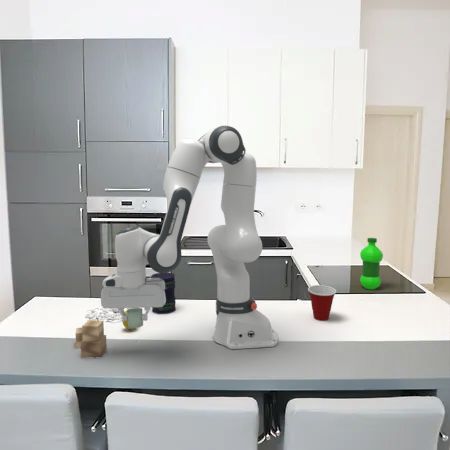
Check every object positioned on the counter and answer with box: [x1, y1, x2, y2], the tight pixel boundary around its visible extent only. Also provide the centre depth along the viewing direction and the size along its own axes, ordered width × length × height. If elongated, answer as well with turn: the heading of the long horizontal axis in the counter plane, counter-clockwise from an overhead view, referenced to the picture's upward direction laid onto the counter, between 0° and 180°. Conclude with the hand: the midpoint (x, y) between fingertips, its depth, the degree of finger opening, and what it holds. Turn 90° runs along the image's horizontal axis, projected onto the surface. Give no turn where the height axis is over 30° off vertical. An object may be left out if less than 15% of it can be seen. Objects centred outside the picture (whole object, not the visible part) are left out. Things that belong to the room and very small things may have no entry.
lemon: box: [121, 310, 133, 331], centre depth 150 cm, size 6×6×8 cm
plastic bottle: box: [359, 237, 384, 291], centre depth 202 cm, size 10×10×25 cm
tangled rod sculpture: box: [84, 306, 131, 321], centre depth 165 cm, size 19×14×4 cm
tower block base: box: [80, 334, 108, 359], centre depth 130 cm, size 6×6×5 cm
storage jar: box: [150, 272, 176, 315], centre depth 171 cm, size 10×10×15 cm
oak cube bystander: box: [75, 327, 83, 349], centre depth 137 cm, size 5×5×5 cm
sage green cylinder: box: [127, 308, 144, 329], centre depth 131 cm, size 5×5×5 cm
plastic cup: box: [307, 284, 337, 321], centre depth 161 cm, size 11×11×12 cm
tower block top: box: [81, 319, 105, 342], centre depth 130 cm, size 5×5×5 cm
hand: (135, 320), depth 131 cm, fingers closed on sage green cylinder, 5 cm apart
